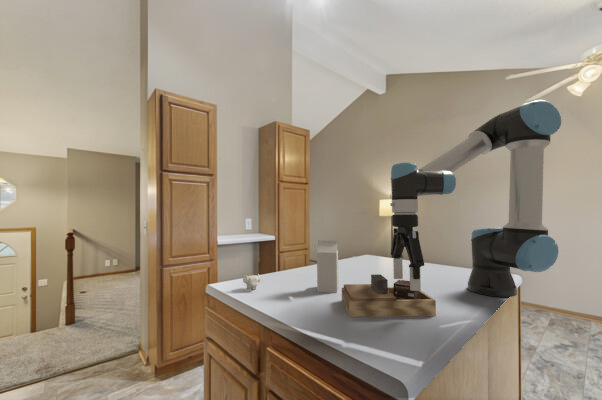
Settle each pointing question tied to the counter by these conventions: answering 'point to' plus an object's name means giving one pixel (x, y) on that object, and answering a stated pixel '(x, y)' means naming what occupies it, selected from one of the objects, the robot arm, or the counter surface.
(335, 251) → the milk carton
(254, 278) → the elephant figurine
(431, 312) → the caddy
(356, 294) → the lid
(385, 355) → the counter surface
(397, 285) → the box
